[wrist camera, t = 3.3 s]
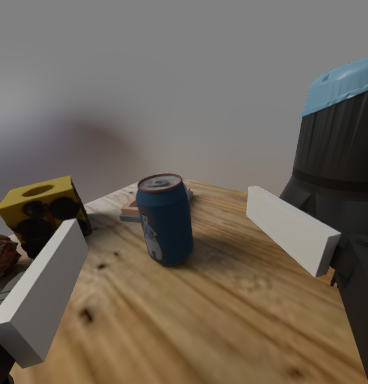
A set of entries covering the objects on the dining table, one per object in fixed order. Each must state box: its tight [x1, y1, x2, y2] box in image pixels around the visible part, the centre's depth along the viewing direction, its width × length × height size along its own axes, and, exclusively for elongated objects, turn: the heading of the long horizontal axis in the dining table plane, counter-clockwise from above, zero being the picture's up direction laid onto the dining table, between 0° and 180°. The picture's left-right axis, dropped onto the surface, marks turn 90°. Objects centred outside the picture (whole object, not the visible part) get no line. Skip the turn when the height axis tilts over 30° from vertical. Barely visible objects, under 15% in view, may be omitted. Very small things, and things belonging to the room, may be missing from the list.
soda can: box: [136, 173, 193, 266], centre depth 24 cm, size 7×7×12 cm
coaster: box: [120, 187, 193, 223], centre depth 40 cm, size 13×13×3 cm
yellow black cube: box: [0, 176, 92, 258], centre depth 32 cm, size 10×10×10 cm
